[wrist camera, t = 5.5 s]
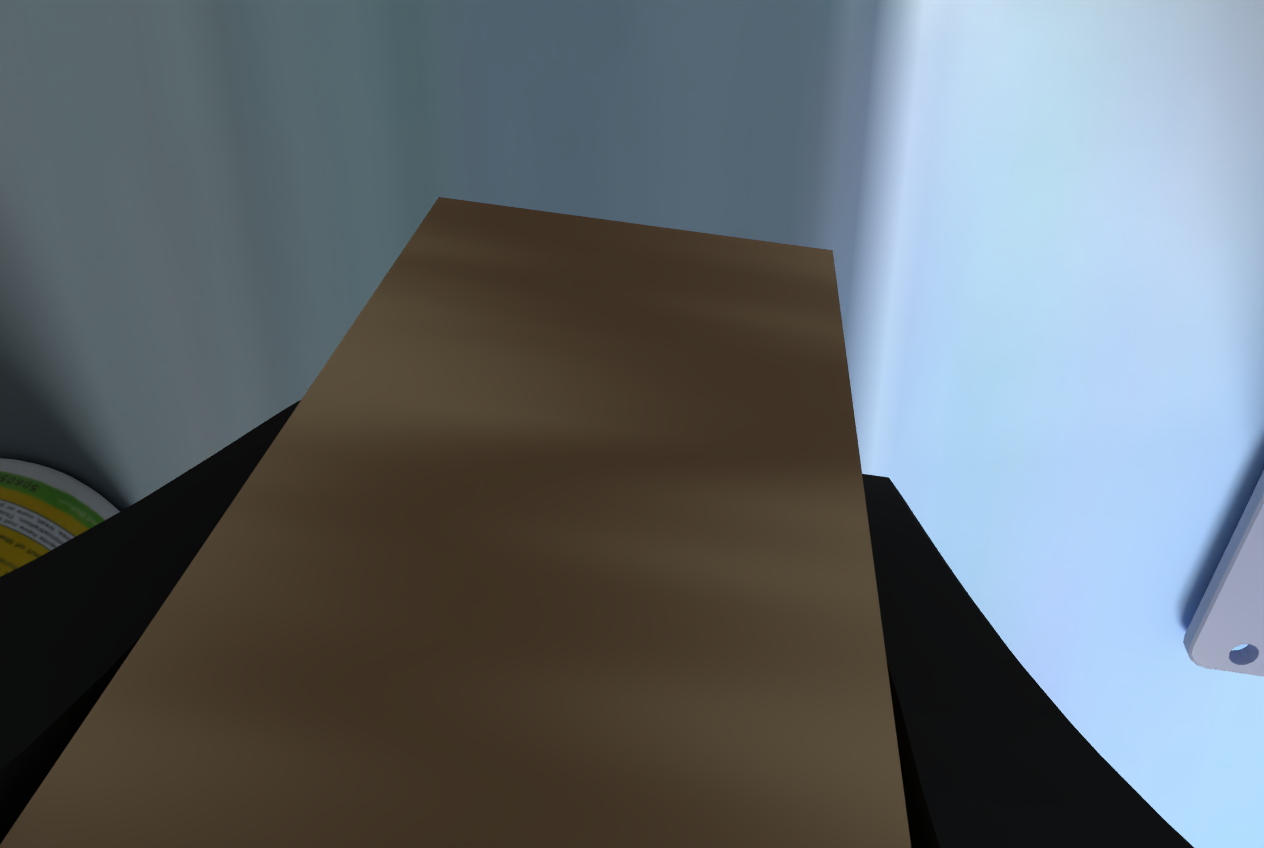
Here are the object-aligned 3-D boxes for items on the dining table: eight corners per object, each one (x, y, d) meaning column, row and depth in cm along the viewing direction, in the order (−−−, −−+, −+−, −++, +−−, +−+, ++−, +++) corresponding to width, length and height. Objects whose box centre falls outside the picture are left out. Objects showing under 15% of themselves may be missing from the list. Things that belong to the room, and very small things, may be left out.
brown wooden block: (831, 251, 12) (931, 1016, 5) (766, 562, 14) (769, 1399, 7) (438, 197, 12) (-15, 868, 5) (434, 514, 14) (112, 1290, 7)
